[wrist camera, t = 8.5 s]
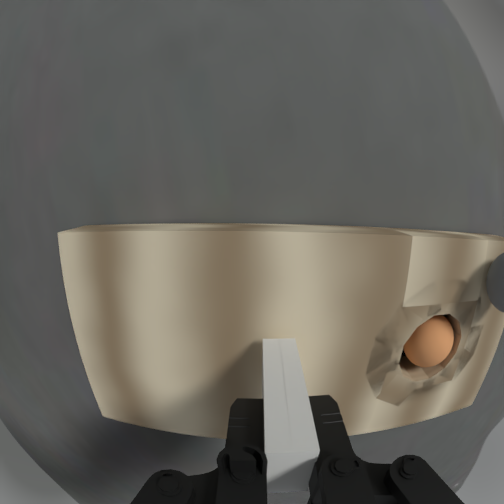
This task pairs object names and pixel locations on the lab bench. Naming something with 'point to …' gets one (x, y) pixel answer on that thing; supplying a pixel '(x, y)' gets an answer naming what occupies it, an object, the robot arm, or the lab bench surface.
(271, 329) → the board
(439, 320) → the ball
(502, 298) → the grey ball
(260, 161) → the lab bench surface
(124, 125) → the lab bench surface
